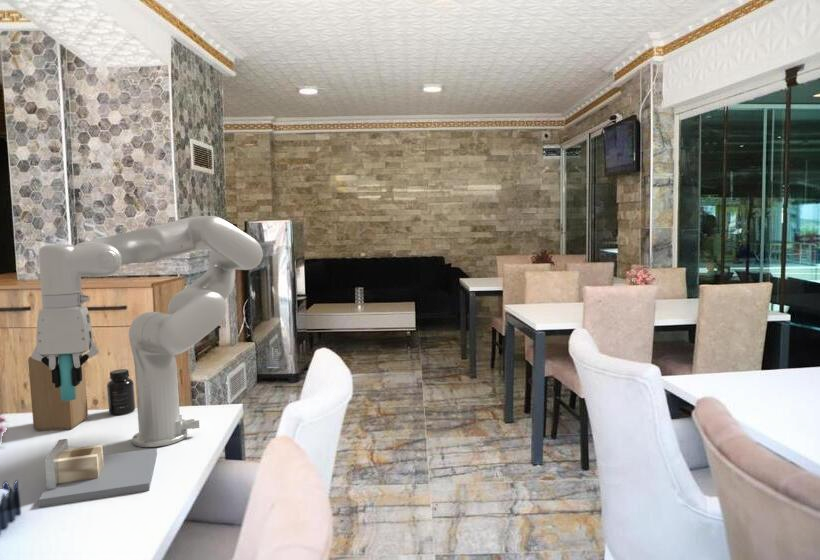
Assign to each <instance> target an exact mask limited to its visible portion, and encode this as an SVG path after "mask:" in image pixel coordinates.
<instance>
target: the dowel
mask: <svg viewBox="0 0 820 560" xmlns="http://www.w3.org/2000/svg"><path fill="white" fill-rule="evenodd" d="M58 358H59V373H60V389H61V401H70V400H74V399H76V391H75V386H73V384H72V368H73V365H74V362H73V355H72V354H65V355H58Z"/></svg>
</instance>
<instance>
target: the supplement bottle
mask: <svg viewBox="0 0 820 560" xmlns="http://www.w3.org/2000/svg"><path fill="white" fill-rule="evenodd" d="M129 372H130V371H129V369H125V368H124V369H122V368H120V369H115V370H111V371H110V372H109V379H110V381H108V382H107V384H106V393H107V404H108V413H109V414H110V415H111V416H123V415H124V416H125V415H128V414H131V413H133V412H134V411H135V410H136V400H135V387H134V386H135V384H134V381H133V379H131V378H130V374H129Z"/></svg>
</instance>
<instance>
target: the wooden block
mask: <svg viewBox="0 0 820 560" xmlns="http://www.w3.org/2000/svg"><path fill="white" fill-rule="evenodd" d="M83 355H84V353H82V356H83ZM31 356H32V355H30V356H29V357H28V360H27V363H28V373H29V374H28V376H29V387H30V399H31V411H32V413H31V414H32V422H33V423H32V425H33V429H34V431H57V430H58V431H60V430H72V429H73V428H75V427H76V426H78V425H80V424H81V423H82V422H84V421H85V420H86V419H87V418H88V417H89V411H88V399H87V397H88V395H87V383H86V371H85V363H84V364H83V365H82V366H81V367H82V381H80V384H78V385H77V386H75V391H76V399H74V400H70V401H61V389H60V387H58V388H55V383H52V370H51V369H49V367H48V366H47V365H45V364H44V363H43V362H41V361H38V360H35V359H33V358H31ZM48 356H49V355H48Z"/></svg>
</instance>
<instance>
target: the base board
mask: <svg viewBox="0 0 820 560" xmlns="http://www.w3.org/2000/svg"><path fill="white" fill-rule="evenodd" d="M157 449H158V448H157V447H156V448H155V447H153V448H149V449H148V448H147V449H141V450H133V451H132V450H131V451H125V452H118V453H108V454H103V461H104V465H103V468H102V470H101V472H100V475H99V477H98V478H93V479H86V480H79V481H72V482H65V483H59V485H58V486H57V488H56V489H52V490H47V486H46V487H45V489H44V490H43V492H42V493H41V496H40V497H39V498H38V507H39V508H43V507H44V508H45V507H50V506H56V505H61V504H69V503H76V502H82V501H87V500H96V499H103V498H109V497H115V496H121V495H129V494H135V493H141V492H142V493H143V492H147V491H148V492H149V491H150V488H151V485H152V479H153V476H154V470H155V466H156V461H157V456H158V450H157Z"/></svg>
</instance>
